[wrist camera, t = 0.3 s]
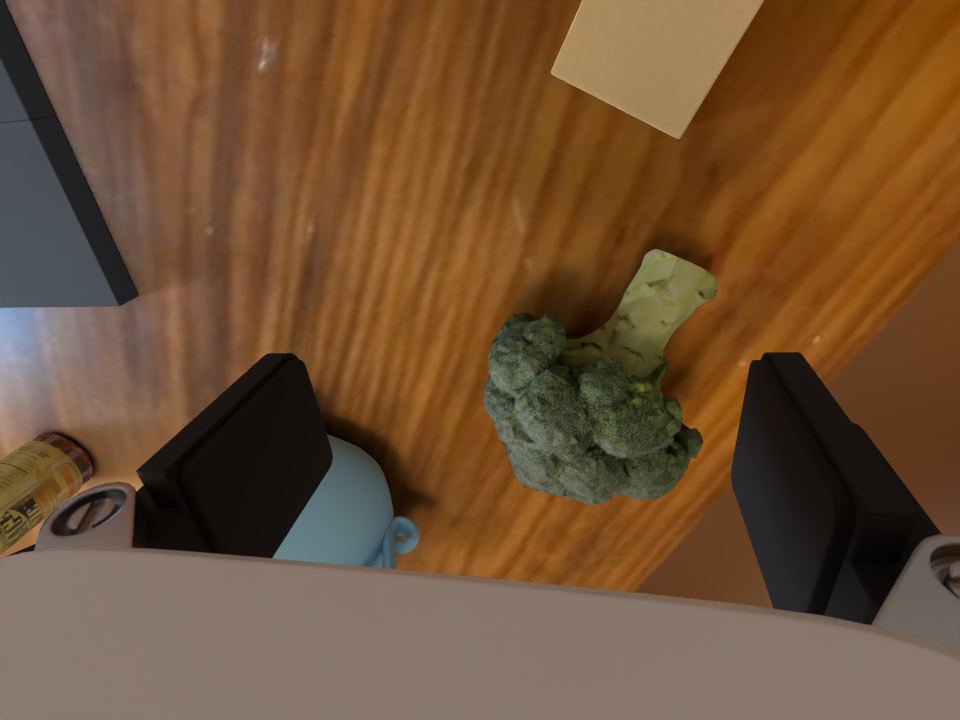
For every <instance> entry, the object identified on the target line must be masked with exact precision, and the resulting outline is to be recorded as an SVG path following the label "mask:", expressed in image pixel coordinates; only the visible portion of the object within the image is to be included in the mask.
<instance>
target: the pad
mask: <svg viewBox="0 0 960 720" xmlns="http://www.w3.org/2000/svg"><path fill="white" fill-rule="evenodd" d="M763 2H764V0H582V2H581V4H580V6H579V9H578V11H577V13H576V16H575V18H574V20H573V22H572V25H571V27H570V29H569V31H568V34H567V36H566V38H565V41H564V43H563V45H562V47H561V50H560V52H559V54H558V56H557V59H556V61H555V63H554V66H553V68H552V70H551V74H552V75H554V76H556V77H558V78H560V79H562V80H564V81H566V82H567V83H569V84H571V85H573V86H575V87H577V88H579V89H581V90H583V91H585V92H587V93H589V94H591V95H593V96H595V97H597V98H599V99H601V100H603V101H604V102H606V103H608V104H610V105H612V106H614V107H616V108H618V109H620V110H622V111H624V112H626V113H628V114H630V115H632V116H634V117H636V118H638V119H639V120H641V121H643V122H645V123H647V124H649V125H651V126H653V127H655V128H657V129H659V130H661V131H663V132H665V133H667V134H669V135H671V136H673V137H675V138H676V139H680V138H681V136H682V135H683V133H684V131H685V130H686V128H687V127H688V125H689V123H690V122H691V120H692V118H693V117H694V115H695V113H696V112H697V110H698V108H699V107H700V105H701V104H702V102H703V100H704V99H705V97H706V95H707V94H708V92H709V90H710V89H711V87H712V85H713V84H714V82H715V81H716V79H717V77H718V76H719V74H720V72H721V71H722V69H723V67H724V66H725V64H726V62H727V61H728V59H729V58H730V56H731V54H732V53H733V51H734V49H735V48H736V46H737V44H738V43H739V41H740V39H741V38H742V36H743V35H744V33H745V31H746V30H747V28H748V26H749V25H750V23H751V21H752V20H753V18H754V16H755V15H756V13H757V12H758V10H759V8H760V7H761V5H762V3H763Z"/></svg>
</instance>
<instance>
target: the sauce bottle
mask: <svg viewBox="0 0 960 720" xmlns="http://www.w3.org/2000/svg"><path fill="white" fill-rule="evenodd" d="M92 474H93V468H92V464H91V462H90V458H89V456H88V454H87V453H86V452H85V451H84V450H82V449H81V448H80V447H79V446H77V445H76V444H75V443H74V442H72V441H70V440H68V439H67V438H65V437H62V436H60V435H55V434H48V433H45V434H42V435H39V436H37V437H36V438H35V439H33V440H32V441H28V442H26V443H24V444H22V445H21V446H19V447H18V448H16V449H15V450H13V451H12V452H10V453H9V454H7V455H6V456H4V457H2V458H1V459H0V554H2V553H3V552H4V551H5V550H7V549H8V548H10V547H11V546H12V545H13V544H14V543H15V542H17V541H18V540H19V539H20V538H22V537H23V536H24V535H25V534H26V533H27V532H29V531H30V530H31V529H32V528H34V527H35V526H36V525H37V524H39V523H40V522H41V521H42V520H43V519H45V518H46V517H47V516H48V515H49V514H51V513H52V512H53V511H54V510H55V509H56V508H58V507H59V506H60V505H62V504H63V503H64V502H65V501H67V500H68V499H69V498H70V497H71V496H73V495H74V494H75V493H76V492H78V491H79V490H80V488H81V486H82V485H83V484H84V483H85V482H87V481H88V480H89V479H90V478H91V476H92Z"/></svg>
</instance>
